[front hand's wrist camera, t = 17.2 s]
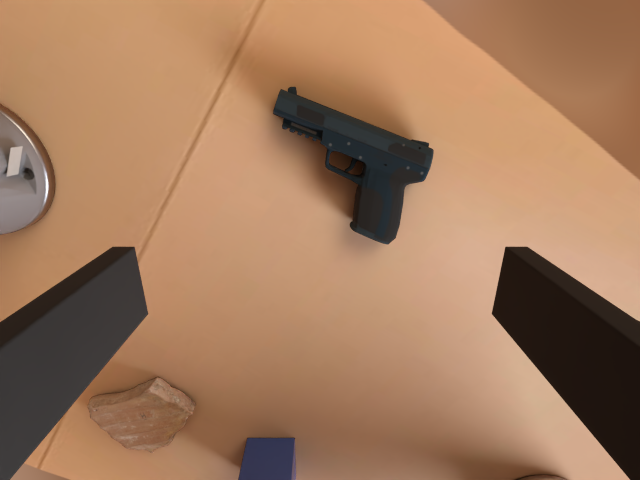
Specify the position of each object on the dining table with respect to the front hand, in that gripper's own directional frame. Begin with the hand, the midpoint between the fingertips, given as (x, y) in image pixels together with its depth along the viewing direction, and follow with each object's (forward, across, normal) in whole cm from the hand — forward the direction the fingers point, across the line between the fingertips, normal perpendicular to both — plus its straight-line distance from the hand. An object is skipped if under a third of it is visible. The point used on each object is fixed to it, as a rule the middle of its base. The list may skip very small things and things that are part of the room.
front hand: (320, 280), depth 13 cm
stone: (+29, +26, +36) cm, 53 cm away
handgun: (+29, -2, 0) cm, 29 cm away
